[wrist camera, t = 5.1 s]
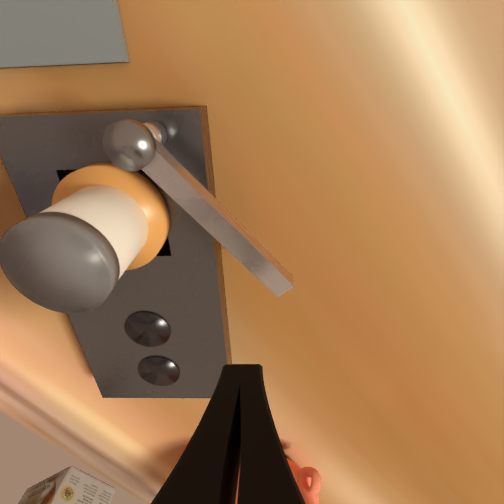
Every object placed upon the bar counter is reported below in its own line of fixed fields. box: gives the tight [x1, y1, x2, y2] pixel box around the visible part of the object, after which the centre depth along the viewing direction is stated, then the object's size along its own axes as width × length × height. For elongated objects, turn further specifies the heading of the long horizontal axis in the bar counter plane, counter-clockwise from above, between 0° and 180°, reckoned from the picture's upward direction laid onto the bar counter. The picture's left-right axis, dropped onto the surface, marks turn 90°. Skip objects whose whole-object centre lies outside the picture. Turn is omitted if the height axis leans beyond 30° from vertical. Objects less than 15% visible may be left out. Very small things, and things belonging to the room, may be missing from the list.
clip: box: [103, 119, 294, 297], centre depth 14 cm, size 2×10×3 cm, turn 43°
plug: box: [0, 162, 170, 313], centre depth 15 cm, size 6×6×8 cm
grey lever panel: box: [0, 106, 232, 398], centre depth 19 cm, size 10×20×2 cm, turn 2°
